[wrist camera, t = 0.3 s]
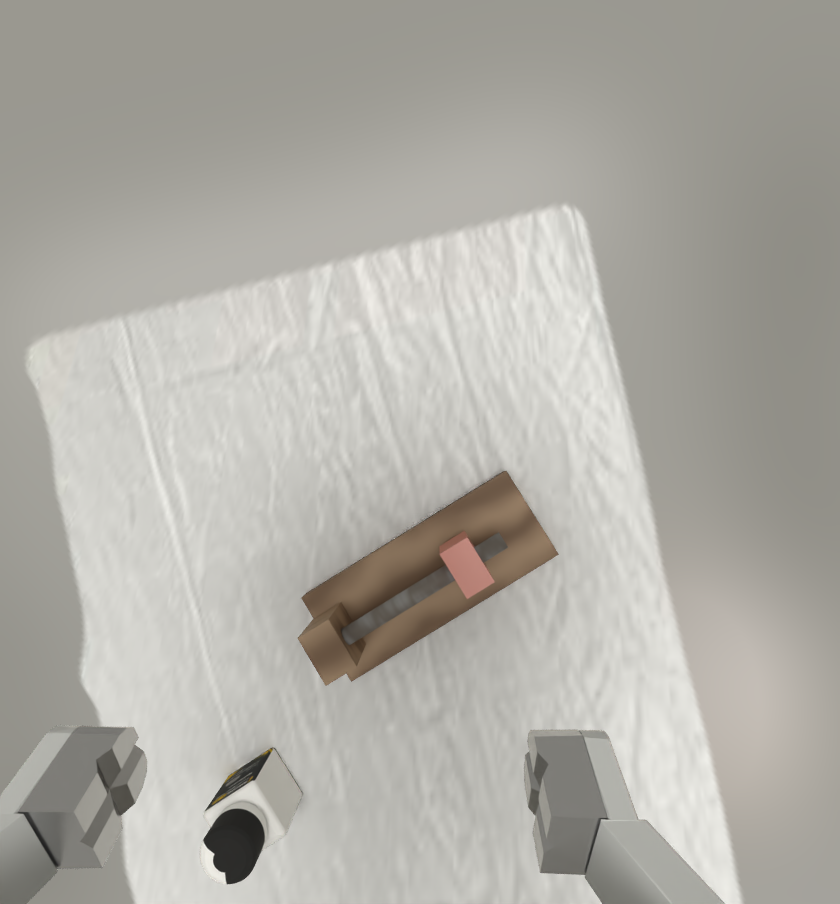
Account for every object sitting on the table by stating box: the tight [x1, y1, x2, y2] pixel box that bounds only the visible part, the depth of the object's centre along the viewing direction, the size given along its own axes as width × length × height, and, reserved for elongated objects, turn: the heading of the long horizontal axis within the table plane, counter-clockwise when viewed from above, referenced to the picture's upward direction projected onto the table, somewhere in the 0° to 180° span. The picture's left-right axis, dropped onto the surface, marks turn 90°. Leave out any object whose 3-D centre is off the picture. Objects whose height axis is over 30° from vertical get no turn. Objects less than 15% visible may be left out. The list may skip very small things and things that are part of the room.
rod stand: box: [298, 471, 559, 685], centre depth 58 cm, size 12×30×9 cm, turn 122°
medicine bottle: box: [200, 748, 302, 884], centre depth 56 cm, size 7×7×12 cm
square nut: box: [439, 531, 495, 599], centre depth 55 cm, size 6×4×6 cm, turn 32°
